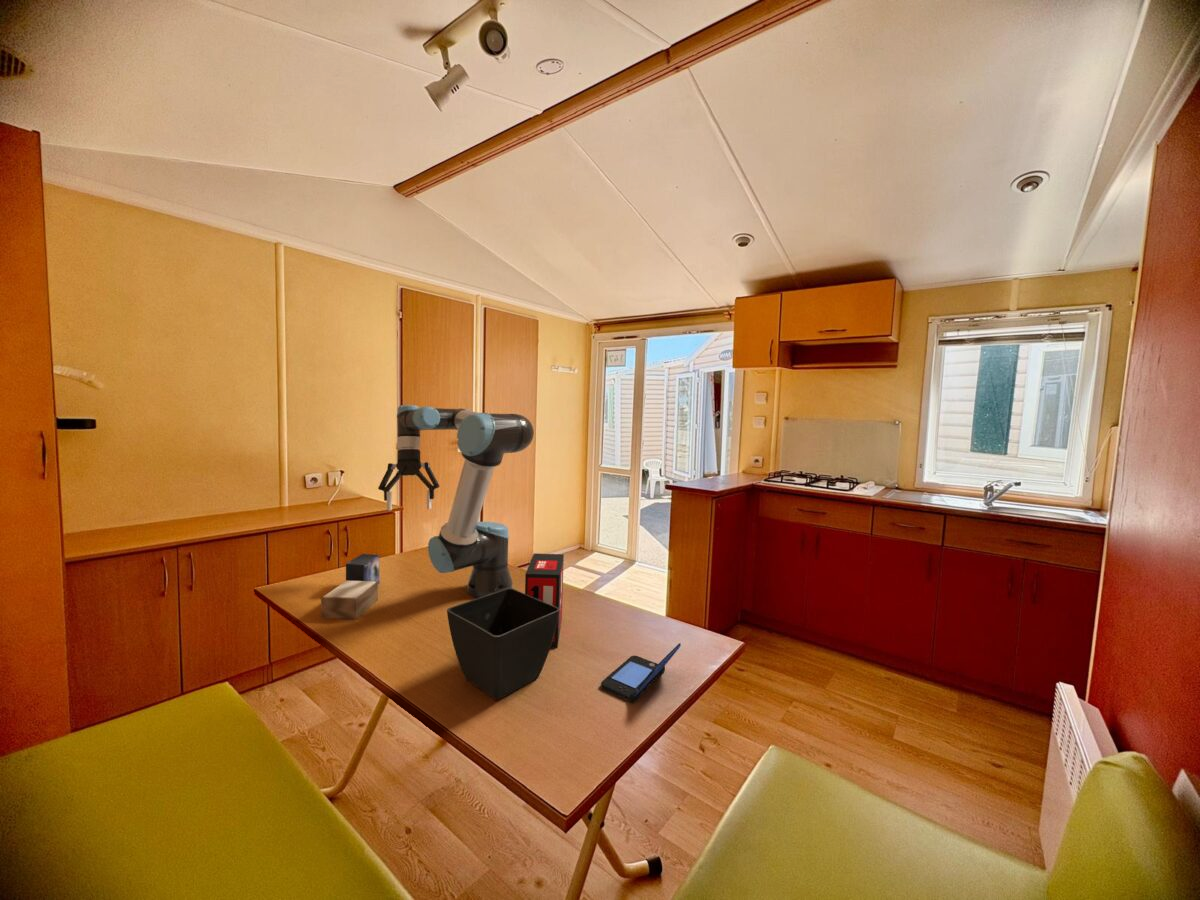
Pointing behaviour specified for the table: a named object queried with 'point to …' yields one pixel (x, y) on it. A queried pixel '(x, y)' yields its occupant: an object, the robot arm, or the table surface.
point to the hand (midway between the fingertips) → (409, 509)
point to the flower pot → (502, 639)
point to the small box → (363, 568)
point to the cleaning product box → (547, 583)
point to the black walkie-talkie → (635, 676)
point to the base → (349, 599)
